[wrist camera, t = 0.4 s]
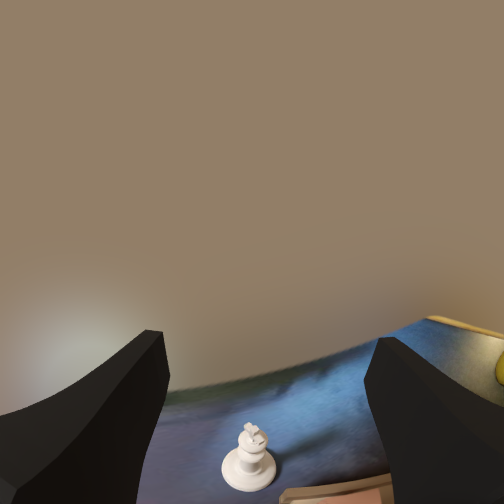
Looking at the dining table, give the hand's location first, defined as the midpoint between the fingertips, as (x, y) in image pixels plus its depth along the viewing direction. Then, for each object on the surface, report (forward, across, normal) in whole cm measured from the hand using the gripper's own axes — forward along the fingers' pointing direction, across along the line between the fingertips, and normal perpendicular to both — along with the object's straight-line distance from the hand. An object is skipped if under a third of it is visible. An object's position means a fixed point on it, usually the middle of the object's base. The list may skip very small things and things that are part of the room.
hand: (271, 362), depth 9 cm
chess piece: (+5, 0, +19) cm, 20 cm away
